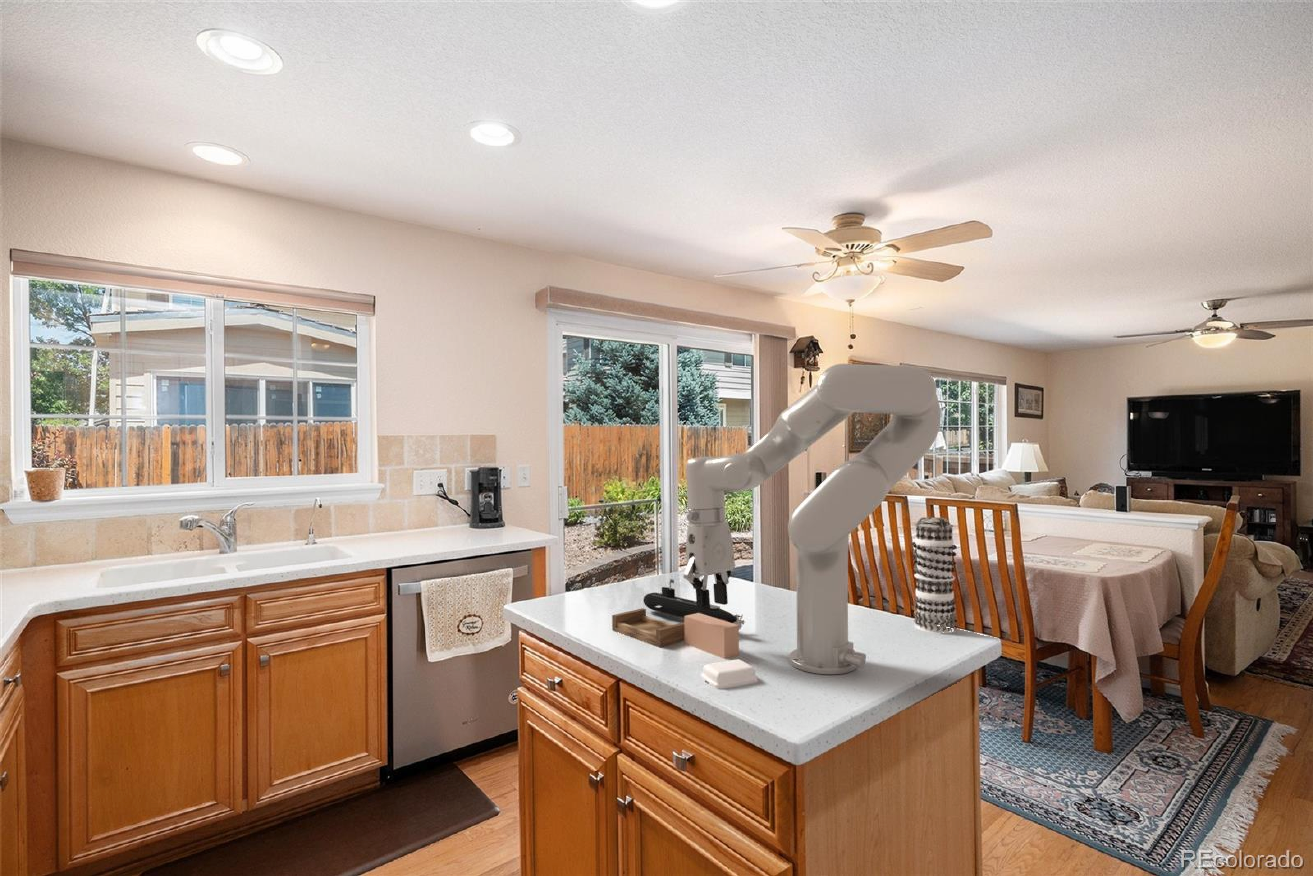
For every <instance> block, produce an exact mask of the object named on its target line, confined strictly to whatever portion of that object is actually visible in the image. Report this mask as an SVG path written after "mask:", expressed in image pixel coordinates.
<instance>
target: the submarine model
mask: <svg viewBox="0 0 1313 876" xmlns="http://www.w3.org/2000/svg"><path fill="white" fill-rule="evenodd" d="M672 584H675V579H670V578H669V582H668V586H669V587H667V586H664V587H663V586H662V587H661V592H649V593H647V594H645V595H644V597H643V605H645V606H646V608H647V609H650V610H652V611H654V612H660V613H663V614H667V615H671V616H674V617H679V618H681V619H682V618H683V619H684V616H687V615H691V614H696V613H701V614H704V615H707V616H711V617H714V618H717V619H720V620H723V621H727V622H730V623H733V624H736V625H739V631H740V630H741V629H742V625H745V619H744V620H743V615H744V614H741V615H739V614H737V613H736V614H732V613H730V612H729V611H726V610H725V609H722V608H721V607H720V606H719V605H714V604H711V603H710V609H709V610H704V609H699V608H697V602H696V600H693V599H687V598H682V597H678V596H676V592H675V591H676V590H675V588H672Z"/></svg>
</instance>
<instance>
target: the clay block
mask: <svg viewBox="0 0 1313 876" xmlns="http://www.w3.org/2000/svg"><path fill="white" fill-rule="evenodd" d="M683 619H684V621H683V622H684V624H685V640H684V644H685V645H687V646H690V647H693V648H694V649H697V650H700V651H702V652H706V653H708V654H711V655H713V656H716V657H719V658H720V659H723V660H725V659H729V658H732V657H734V656H735V657H737V656H739V655H740V640H739V639H740V638H739V637H740V635H739V634H740V632H739V631H740V630H739V625H736V624H733V623H730V622H727V621H723V620H720V619H717V618H714V617H711V616H707V615H704V614H701V613H696V614H691V615H687V616H684V618H683Z"/></svg>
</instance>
